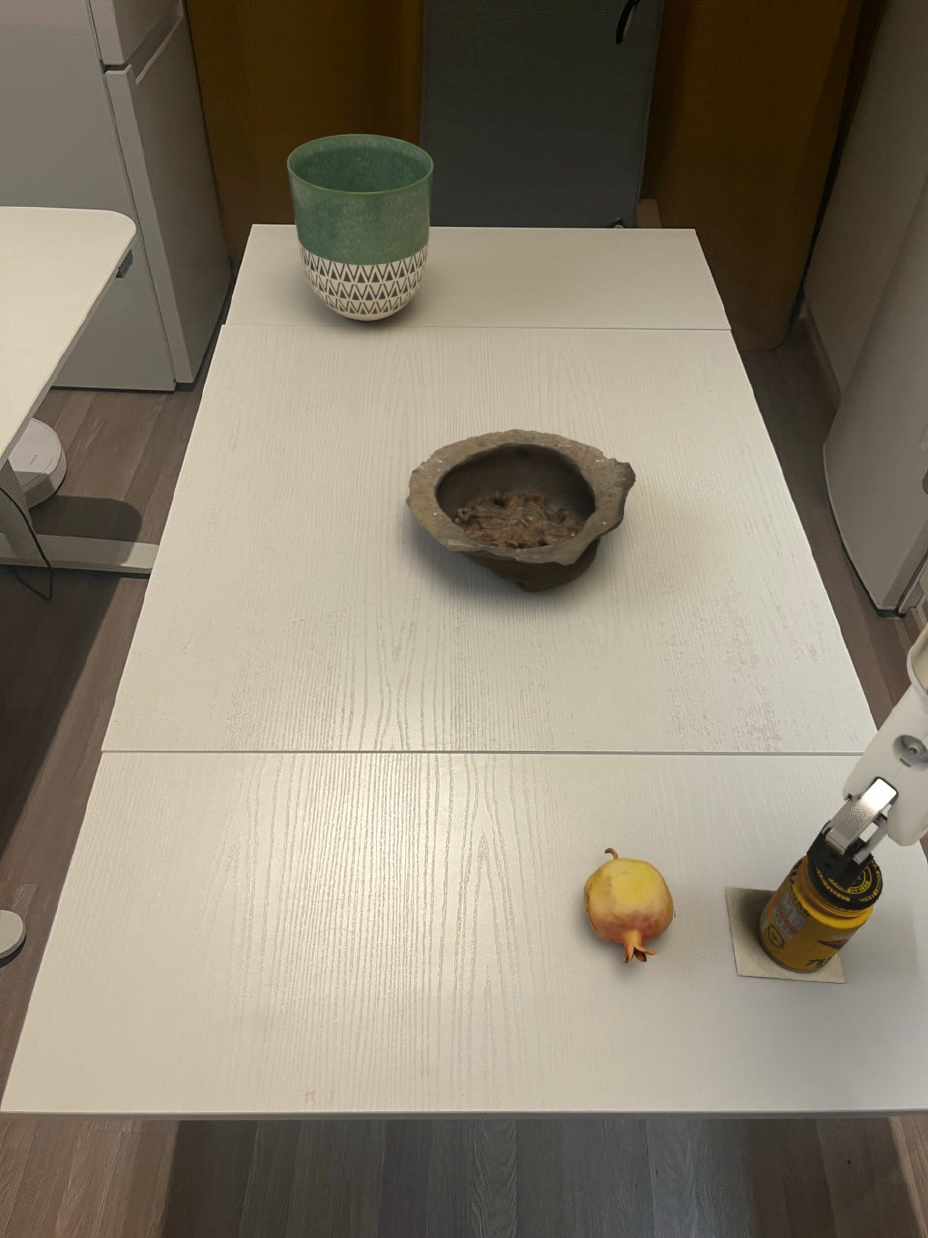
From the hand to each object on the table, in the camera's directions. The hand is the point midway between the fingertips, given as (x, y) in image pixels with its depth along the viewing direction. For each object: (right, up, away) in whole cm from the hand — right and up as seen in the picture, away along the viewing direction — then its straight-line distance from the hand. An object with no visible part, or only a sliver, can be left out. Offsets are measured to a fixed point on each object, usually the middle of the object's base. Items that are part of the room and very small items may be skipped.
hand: (870, 829), depth 60 cm
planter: (-42, +61, +76) cm, 106 cm away
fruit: (-14, -11, +13) cm, 22 cm away
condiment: (-1, -12, +13) cm, 18 cm away
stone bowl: (-22, +24, +43) cm, 54 cm away
